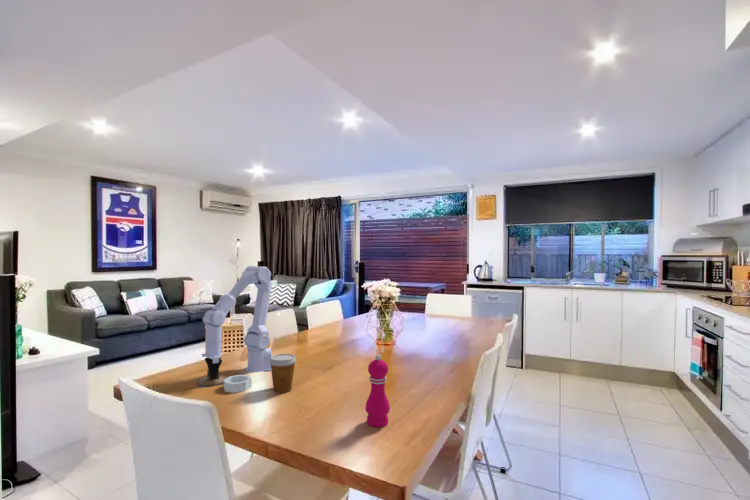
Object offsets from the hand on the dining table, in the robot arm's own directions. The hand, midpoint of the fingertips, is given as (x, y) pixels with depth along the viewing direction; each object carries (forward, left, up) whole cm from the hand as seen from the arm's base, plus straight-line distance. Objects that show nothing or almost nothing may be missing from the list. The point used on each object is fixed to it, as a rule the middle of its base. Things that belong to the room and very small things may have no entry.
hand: (213, 377), depth 140 cm
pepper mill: (-38, +59, -2) cm, 70 cm away
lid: (0, 0, -2) cm, 2 cm away
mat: (0, 0, -2) cm, 2 cm away
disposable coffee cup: (-21, +20, -2) cm, 29 cm away
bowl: (-7, +11, -2) cm, 13 cm away
